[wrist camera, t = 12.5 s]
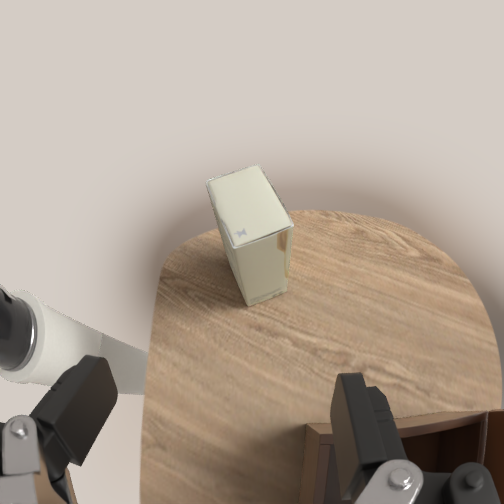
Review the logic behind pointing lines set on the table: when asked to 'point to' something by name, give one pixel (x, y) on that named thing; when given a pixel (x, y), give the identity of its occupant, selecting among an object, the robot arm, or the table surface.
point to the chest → (414, 443)
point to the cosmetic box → (253, 231)
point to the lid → (495, 450)
